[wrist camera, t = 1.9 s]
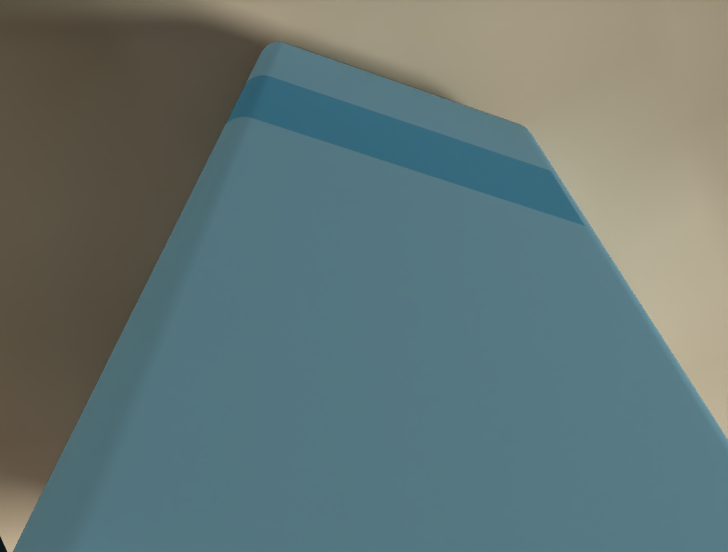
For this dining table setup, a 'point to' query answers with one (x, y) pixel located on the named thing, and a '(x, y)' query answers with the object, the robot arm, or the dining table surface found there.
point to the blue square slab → (384, 353)
